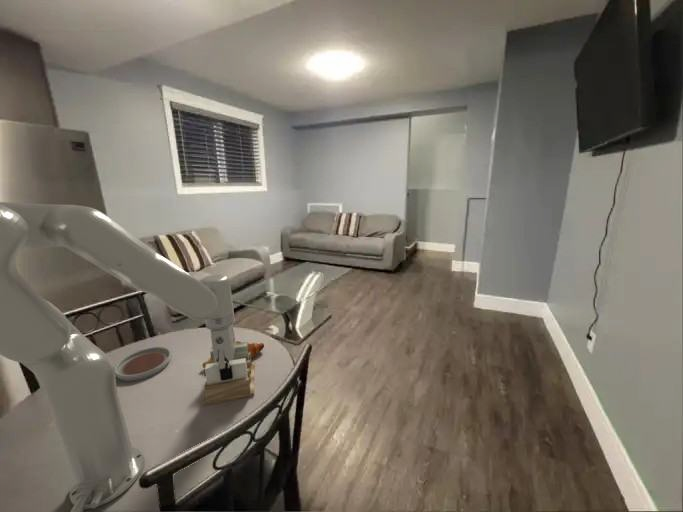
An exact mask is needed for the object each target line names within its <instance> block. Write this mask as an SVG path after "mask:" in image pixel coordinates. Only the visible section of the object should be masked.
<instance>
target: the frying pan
mask: <svg viewBox="0 0 683 512" xmlns="http://www.w3.org/2000/svg"><path fill="white" fill-rule="evenodd" d="M172 357H173V353H172V351H171V350H170V349H169V348H167V347H164V346H154V347H153V346H152V347H147V348H143V349H140V350H137V351H134V352H132V353H129V354H128V355H126V356H125V357H123V358H122V359H120V360H119V361H118V362H117V364H116V365H115V366H114V369H115V375H116V378H117V379H118V380H121V381H124V382H134V381H140V380H143V379H146V378H150V377H151V376H154V375H157V374H158V373H159V372H161V371H163V370H164V369H165V368H166V367H168V366H169V364H170V362H171V359H172Z"/></svg>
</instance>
